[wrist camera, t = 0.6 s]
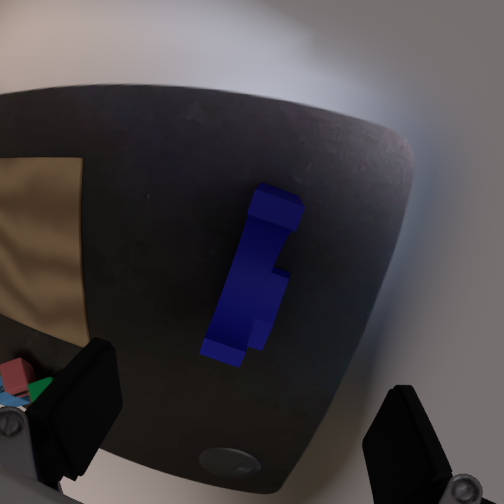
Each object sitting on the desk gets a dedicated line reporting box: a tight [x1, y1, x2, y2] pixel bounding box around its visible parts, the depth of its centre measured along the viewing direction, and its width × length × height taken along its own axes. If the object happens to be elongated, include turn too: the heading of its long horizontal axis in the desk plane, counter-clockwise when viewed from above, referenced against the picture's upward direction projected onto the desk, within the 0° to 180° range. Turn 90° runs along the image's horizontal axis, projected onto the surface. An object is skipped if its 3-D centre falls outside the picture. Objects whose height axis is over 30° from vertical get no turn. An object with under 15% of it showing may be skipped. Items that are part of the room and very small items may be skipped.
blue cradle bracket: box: [199, 182, 305, 367], centre depth 22 cm, size 12×4×6 cm, turn 161°
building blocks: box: [0, 357, 54, 407], centre depth 30 cm, size 8×8×12 cm
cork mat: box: [0, 157, 90, 347], centre depth 27 cm, size 20×20×1 cm
